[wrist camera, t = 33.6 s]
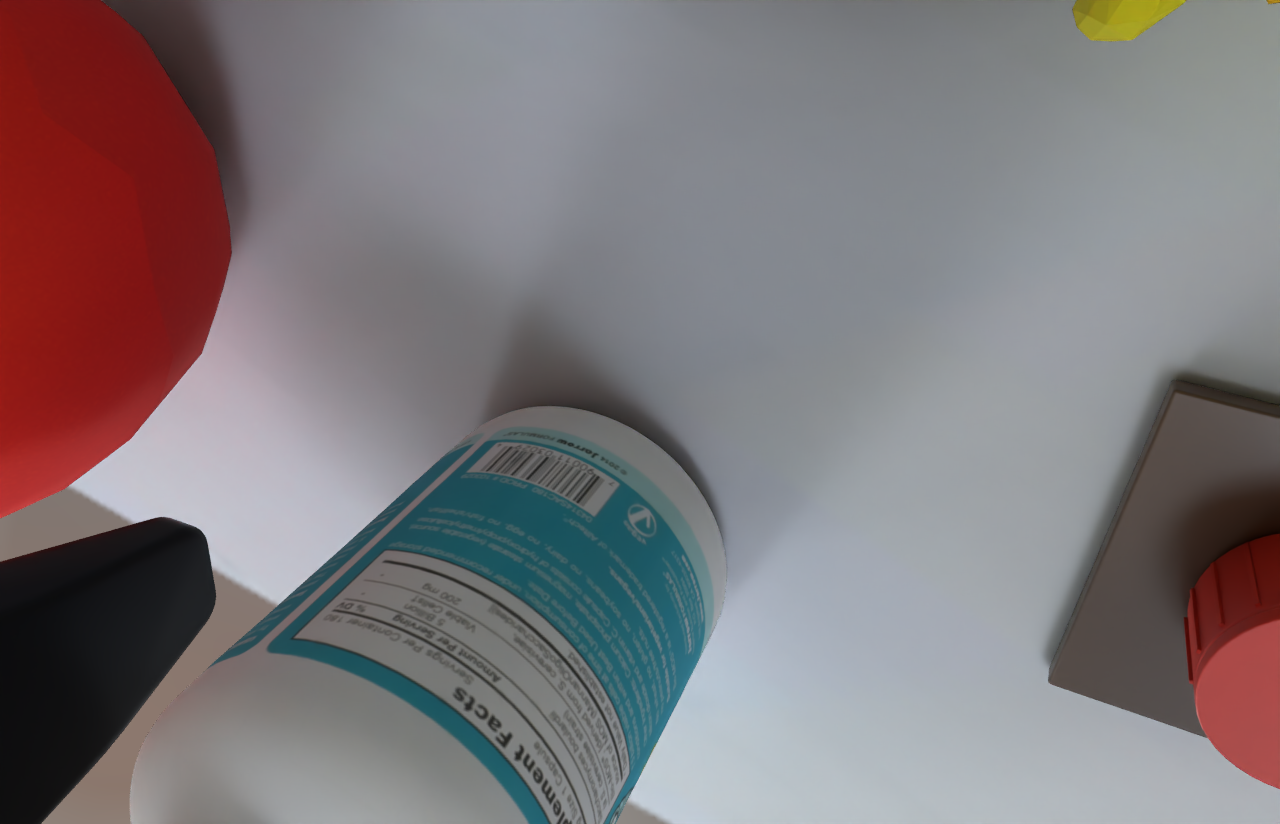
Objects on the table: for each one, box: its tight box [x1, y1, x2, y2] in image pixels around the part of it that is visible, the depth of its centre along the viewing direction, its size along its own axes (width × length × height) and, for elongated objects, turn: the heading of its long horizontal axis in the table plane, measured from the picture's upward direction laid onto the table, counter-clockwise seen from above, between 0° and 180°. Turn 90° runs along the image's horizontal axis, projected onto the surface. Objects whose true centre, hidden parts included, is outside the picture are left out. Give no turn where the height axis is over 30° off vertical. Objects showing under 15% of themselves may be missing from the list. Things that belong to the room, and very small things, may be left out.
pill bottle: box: [130, 406, 727, 824], centre depth 19 cm, size 8×7×14 cm
